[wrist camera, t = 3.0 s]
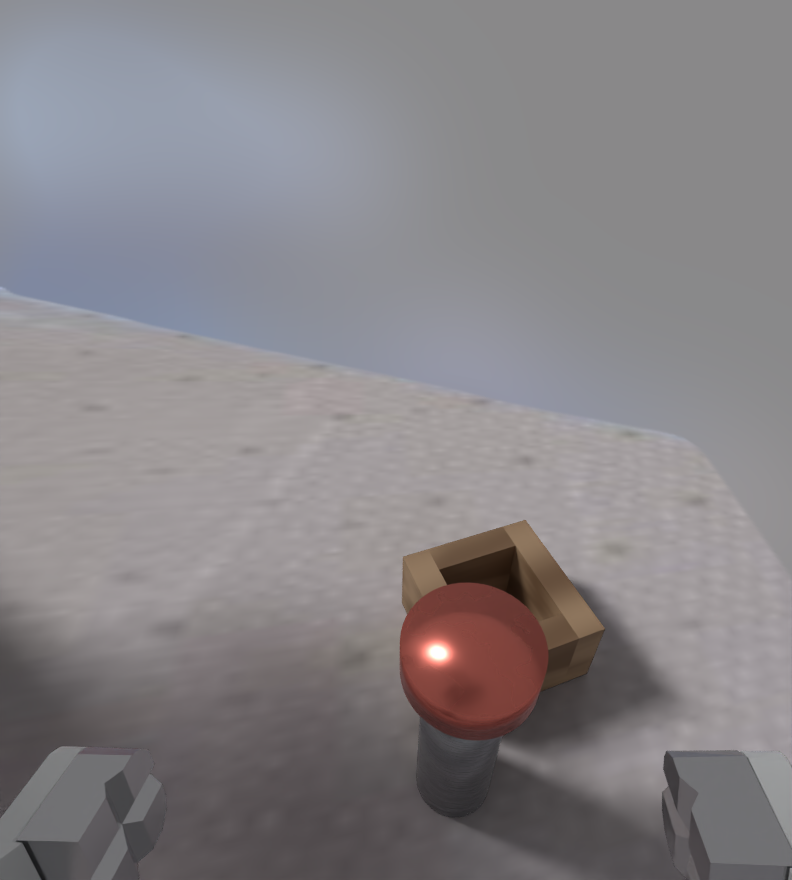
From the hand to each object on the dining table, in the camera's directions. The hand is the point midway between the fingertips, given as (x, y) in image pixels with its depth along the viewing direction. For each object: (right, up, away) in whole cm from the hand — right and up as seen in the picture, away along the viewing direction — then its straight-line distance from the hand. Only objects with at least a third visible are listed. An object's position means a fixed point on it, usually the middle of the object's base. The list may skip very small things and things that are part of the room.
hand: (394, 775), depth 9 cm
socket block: (+6, -8, +30) cm, 32 cm away
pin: (+3, -13, +24) cm, 27 cm away
